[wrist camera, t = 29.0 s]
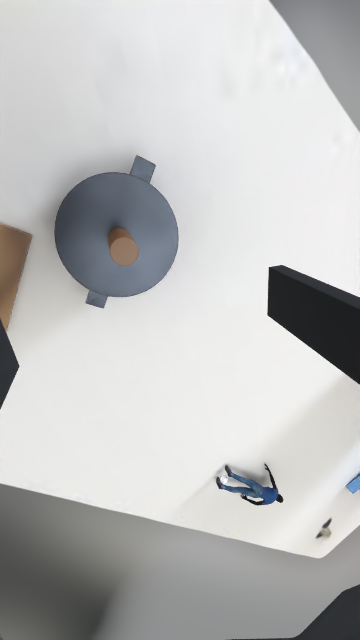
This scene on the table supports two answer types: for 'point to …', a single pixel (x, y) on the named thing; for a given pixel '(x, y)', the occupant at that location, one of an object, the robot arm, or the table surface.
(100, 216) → the lid
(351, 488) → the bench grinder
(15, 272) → the cork mat
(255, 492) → the person figurine
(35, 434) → the table surface
